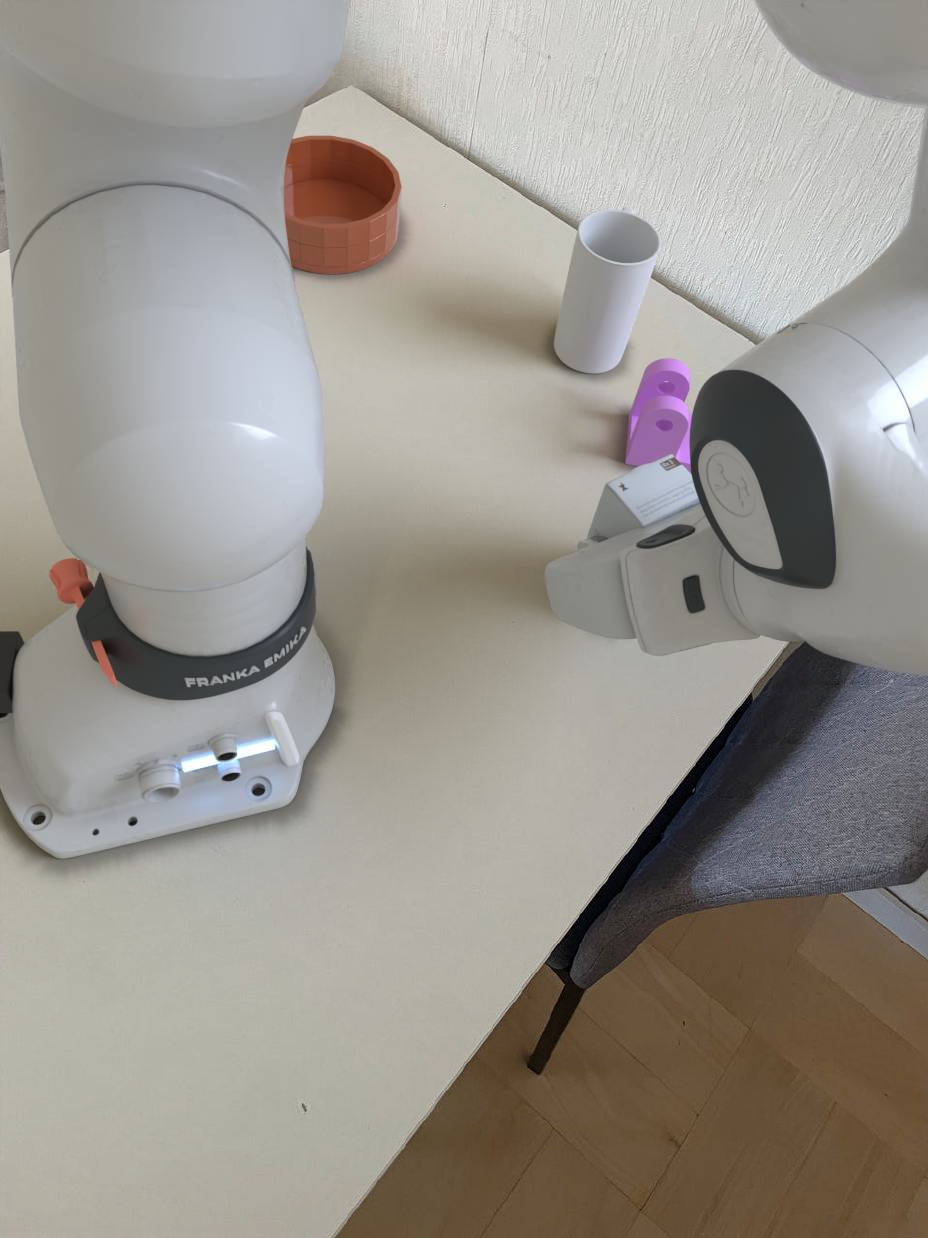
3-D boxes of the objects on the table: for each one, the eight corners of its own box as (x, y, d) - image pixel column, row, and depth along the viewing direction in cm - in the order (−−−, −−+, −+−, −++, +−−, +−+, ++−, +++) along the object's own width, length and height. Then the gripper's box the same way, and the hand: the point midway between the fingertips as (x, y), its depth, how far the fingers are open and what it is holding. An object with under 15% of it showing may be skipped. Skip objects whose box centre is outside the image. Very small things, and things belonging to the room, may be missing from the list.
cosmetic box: (601, 628, 76) (643, 531, 65) (565, 584, 77) (601, 482, 67) (664, 594, 78) (714, 494, 68) (628, 552, 80) (671, 449, 69)
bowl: (289, 288, 91) (287, 241, 87) (234, 199, 97) (230, 151, 92) (421, 254, 95) (425, 208, 91) (361, 170, 101) (363, 123, 97)
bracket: (625, 463, 84) (647, 404, 79) (628, 414, 87) (650, 354, 82) (778, 492, 85) (812, 435, 79) (777, 442, 88) (809, 384, 82)
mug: (616, 385, 89) (652, 274, 79) (542, 364, 89) (569, 250, 79) (637, 312, 94) (674, 199, 84) (568, 292, 95) (596, 177, 85)
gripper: (885, 452, 62) (739, 445, 75) (608, 564, 56) (497, 536, 68) (898, 549, 64) (753, 527, 77) (631, 668, 58) (520, 623, 70)
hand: (631, 532), depth 72 cm, fingers closed on cosmetic box, 6 cm apart
